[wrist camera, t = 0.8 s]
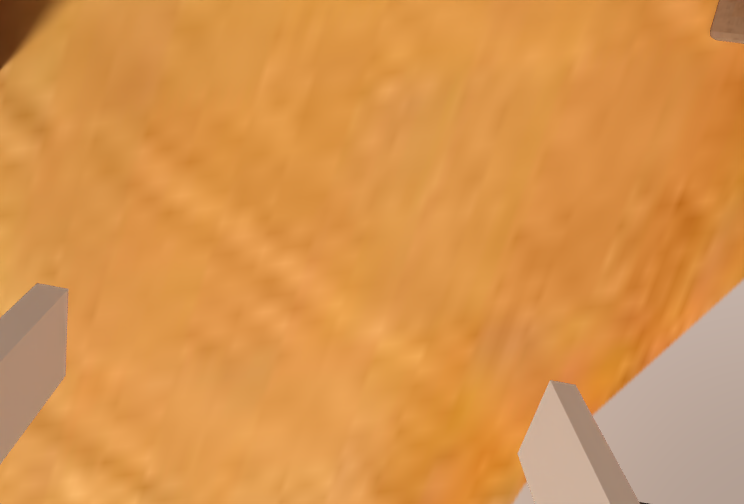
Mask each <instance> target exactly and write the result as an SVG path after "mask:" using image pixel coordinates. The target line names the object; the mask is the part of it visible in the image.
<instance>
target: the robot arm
mask: <svg viewBox="0 0 744 504" xmlns="http://www.w3.org/2000/svg"><path fill="white" fill-rule="evenodd" d="M67 313H68V289H65V288H60V287H55V286H50V285H44V284H39V283H37V284H36V285H35V286H34V287H32V288H31V289H30V290H29V291H28V292H27V293H26V294H25V295H24V296H23V297H22V298H21V299H20V300H19V301H18V302H17V303H16V304H15V305H13V306H12V307H11V308H10V309H9V310H8V311H7V312H6V313H5V314H4V315H3V316H2V317H1V318H0V464H1V463H2V461H3V460H4V459H5V457H6V456H7V454H8V453H9V452H10V450H11V449H12V448H13V446H14V445H15V444H16V442H17V441H18V440H19V438H20V437H21V435H22V434H23V433H24V431H25V430H26V429H27V427H28V426H29V425H30V423H31V422H32V421H33V419H34V418H35V416H36V415H37V414H38V412H39V411H40V410H41V408H42V407H43V406H44V404H45V403H46V402H47V400H48V399H49V397H50V396H51V395H52V393H53V392H54V391H55V389H56V388H57V387H58V385H59V384H60V382H61V381H62V380H63V378H64V377H65V373H66V343H67ZM518 456H519V459H520V462H521V465H522V468H523V471H524V474H525V477H526V480H527V483H528V485H529V488H530V491H531V494H532V497H533V500H534V503H535V504H648V503H641V502H639V501H638V499H637V497H636V495H635V494H634V492H633V490H632V488H631V486H630V485H629V483H628V481H627V479H626V477H625V475H624V474H623V472H622V470H621V468H620V466H619V464H618V462H617V461H616V459H615V457H614V455H613V453H612V451H611V450H610V448H609V446H608V444H607V442H606V440H605V438H604V437H603V435H602V433H601V431H600V429H599V427H598V425H597V424H596V422H595V420H594V418H593V416H592V414H591V413H590V411H589V409H588V407H587V405H586V403H585V402H584V400H583V398H582V396H581V394H580V392H579V390H578V389H577V387H576V385H573V384H568V383H563V382H557V381H552V380H550V382H549V384H548V386H547V388H546V391H545V393H544V395H543V397H542V400H541V402H540V404H539V406H538V409H537V411H536V413H535V416H534V418H533V420H532V422H531V425H530V427H529V429H528V431H527V434H526V436H525V438H524V440H523V443H522V445H521V447H520V449H519V452H518Z"/></svg>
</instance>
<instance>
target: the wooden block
mask: <svg viewBox="0 0 744 504" xmlns="http://www.w3.org/2000/svg"><path fill="white" fill-rule="evenodd" d="M710 36H711V37H712V38H714V39H715V40H719V41H727V42H735V43H743V44H744V0H719V3H718V6H717V10H716V13H715V16H714V20H713V23H712V27H711V30H710Z"/></svg>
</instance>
